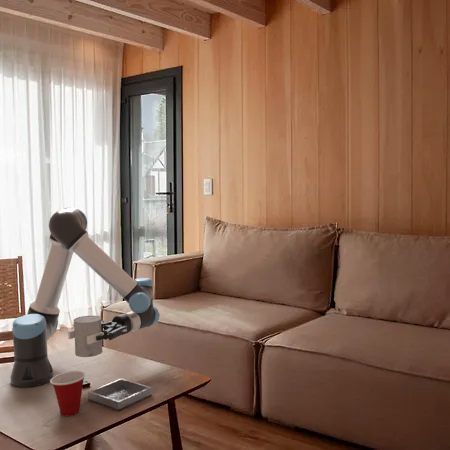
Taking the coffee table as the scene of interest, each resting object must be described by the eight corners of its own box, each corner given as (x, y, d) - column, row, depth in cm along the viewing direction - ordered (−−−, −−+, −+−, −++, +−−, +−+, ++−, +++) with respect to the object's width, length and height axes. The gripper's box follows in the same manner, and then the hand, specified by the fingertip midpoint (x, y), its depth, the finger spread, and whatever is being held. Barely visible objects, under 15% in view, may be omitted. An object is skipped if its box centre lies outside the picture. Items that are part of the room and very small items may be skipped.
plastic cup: (56, 405, 187) (55, 370, 186) (90, 404, 187) (88, 369, 186) (47, 420, 176) (45, 383, 175) (82, 419, 177) (80, 381, 175)
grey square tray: (88, 400, 191) (87, 391, 191) (121, 386, 203) (121, 378, 202) (118, 411, 182) (118, 402, 181) (152, 395, 194) (151, 387, 193)
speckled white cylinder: (95, 357, 198) (94, 323, 197) (70, 356, 200) (68, 322, 199) (106, 349, 207) (105, 316, 206) (82, 347, 209) (81, 315, 208)
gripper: (146, 337, 211) (99, 354, 193) (106, 328, 224) (59, 342, 206) (146, 318, 210) (98, 332, 192) (105, 309, 223) (58, 322, 206)
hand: (78, 337), depth 199 cm, fingers closed on speckled white cylinder, 9 cm apart
